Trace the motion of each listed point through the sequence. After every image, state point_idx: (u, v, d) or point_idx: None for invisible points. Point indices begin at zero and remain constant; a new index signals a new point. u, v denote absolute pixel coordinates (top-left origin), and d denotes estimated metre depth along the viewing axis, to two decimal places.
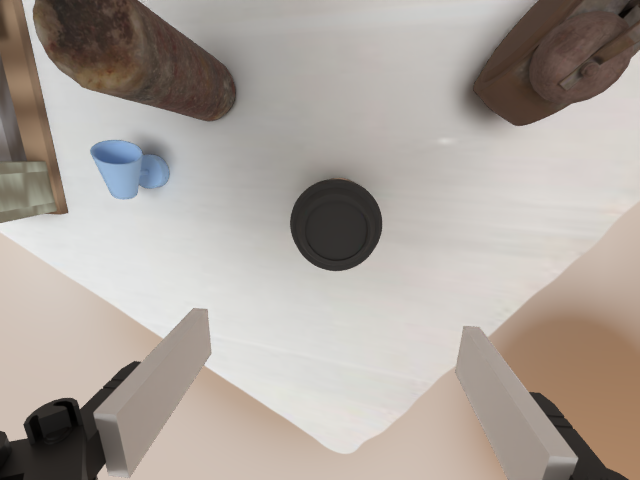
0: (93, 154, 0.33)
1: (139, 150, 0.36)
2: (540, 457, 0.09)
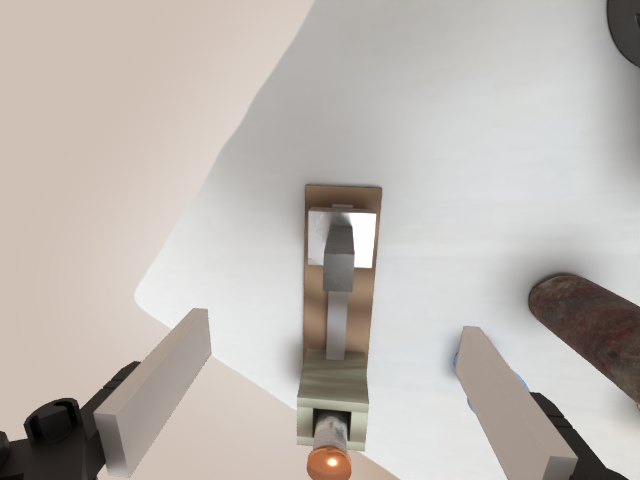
0: None
1: (517, 376, 0.35)
2: (540, 457, 0.09)
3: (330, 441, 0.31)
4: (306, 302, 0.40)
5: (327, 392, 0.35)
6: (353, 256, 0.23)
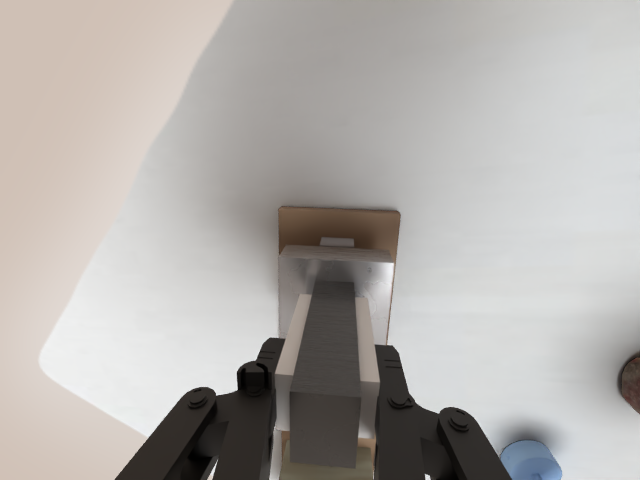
0: None
1: None
2: None
3: None
4: None
5: None
6: (358, 400, 0.10)
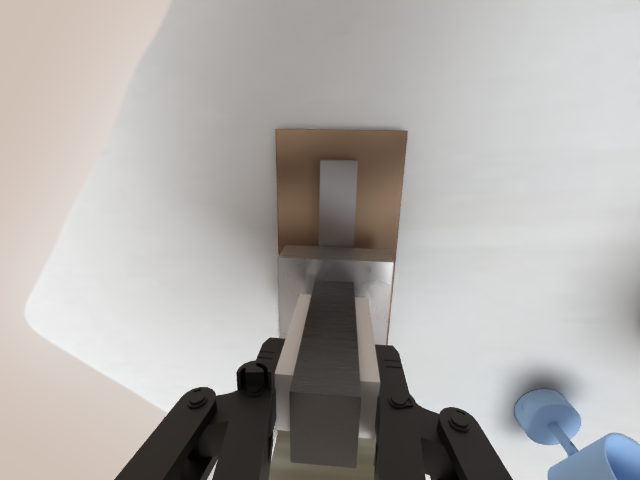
0: None
1: None
2: None
3: None
4: None
5: None
6: (358, 400, 0.10)
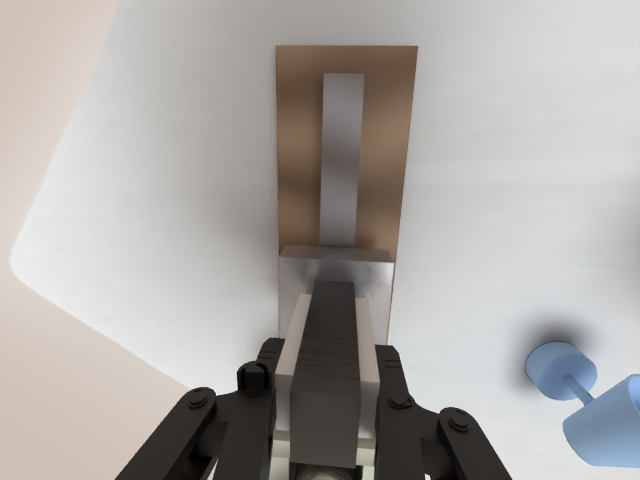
0: None
1: None
2: None
3: None
4: None
5: None
6: (358, 400, 0.10)
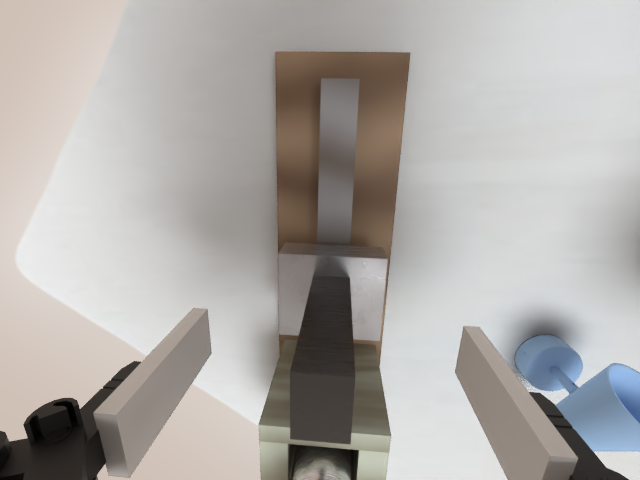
0: None
1: None
2: (540, 457, 0.09)
3: None
4: None
5: None
6: (352, 380, 0.11)
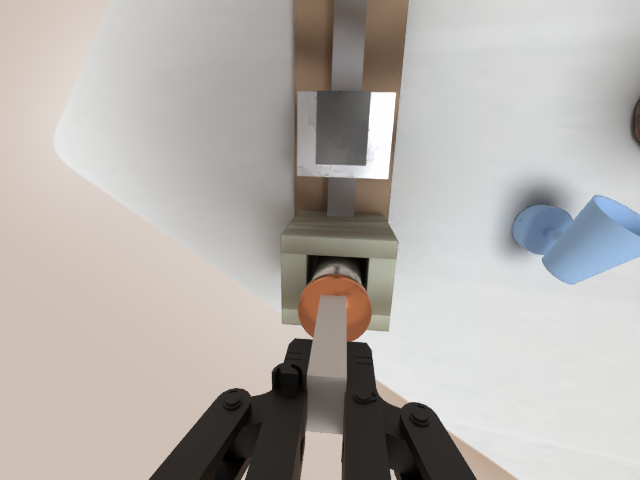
0: (621, 227, 0.19)
1: (631, 211, 0.22)
2: None
3: (336, 274, 0.19)
4: None
5: (330, 233, 0.22)
6: (368, 94, 0.13)
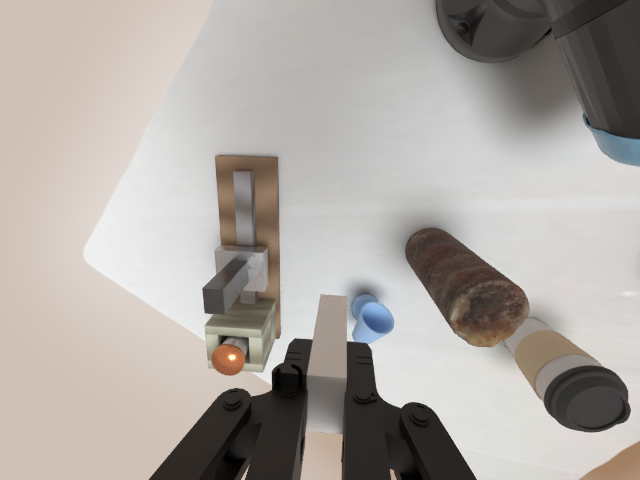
0: (366, 324, 0.40)
1: (387, 310, 0.43)
2: None
3: (230, 342, 0.41)
4: None
5: (231, 323, 0.43)
6: (222, 290, 0.34)
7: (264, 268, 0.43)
